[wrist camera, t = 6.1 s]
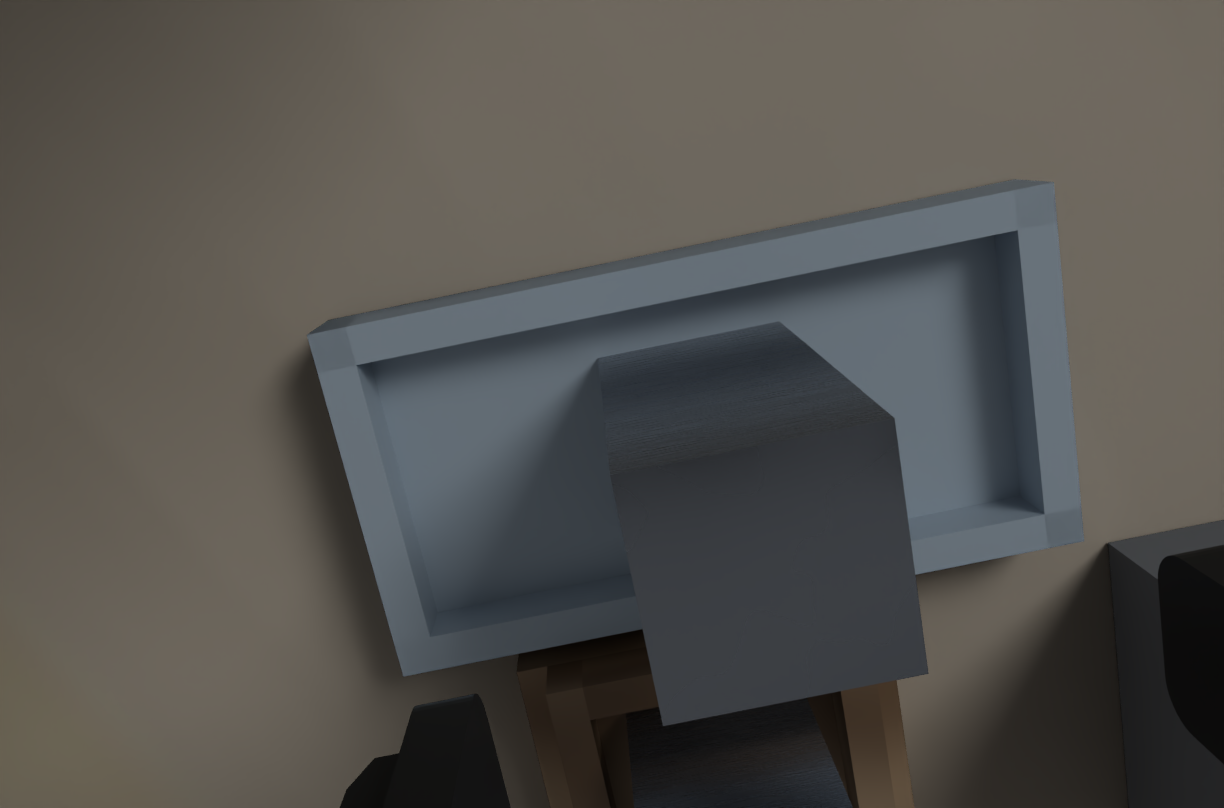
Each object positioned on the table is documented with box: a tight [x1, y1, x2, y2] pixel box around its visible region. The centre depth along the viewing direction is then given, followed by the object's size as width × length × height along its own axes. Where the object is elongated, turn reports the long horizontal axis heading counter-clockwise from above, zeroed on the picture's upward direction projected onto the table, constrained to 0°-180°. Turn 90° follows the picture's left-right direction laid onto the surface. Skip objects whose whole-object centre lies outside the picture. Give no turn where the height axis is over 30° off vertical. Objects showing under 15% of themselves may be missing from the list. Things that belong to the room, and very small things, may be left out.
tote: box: [307, 179, 1084, 677], centre depth 22 cm, size 8×15×2 cm, turn 101°
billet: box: [598, 321, 928, 726], centre depth 18 cm, size 4×4×8 cm
